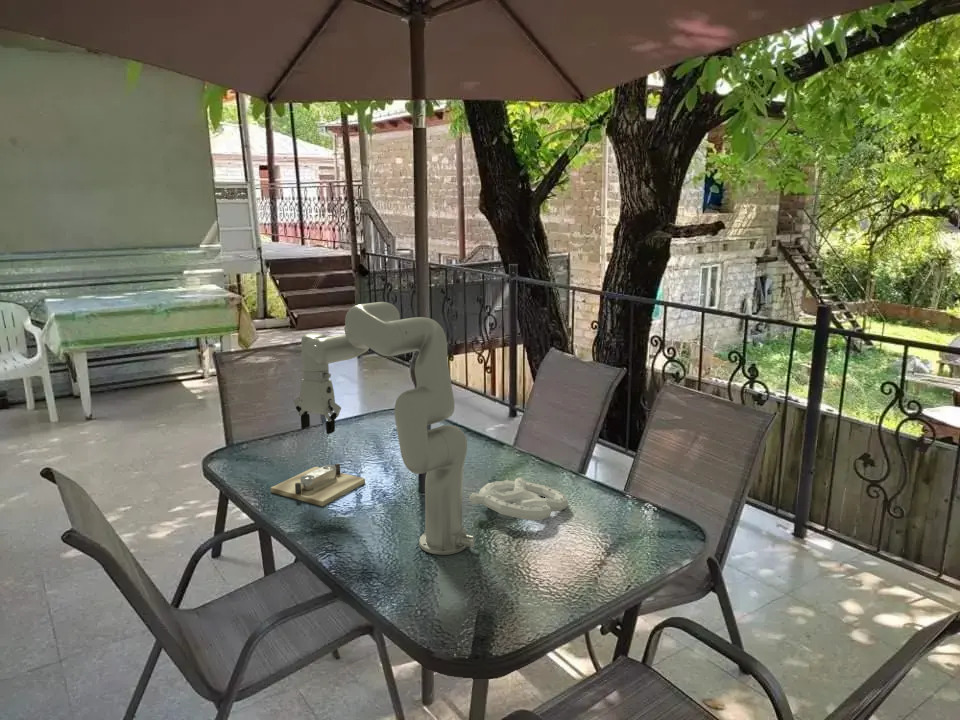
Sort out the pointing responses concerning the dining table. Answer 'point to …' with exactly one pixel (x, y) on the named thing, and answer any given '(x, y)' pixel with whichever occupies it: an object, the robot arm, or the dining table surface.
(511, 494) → the pretzel
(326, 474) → the grey capsule bar
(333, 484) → the board
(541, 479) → the dining table surface
